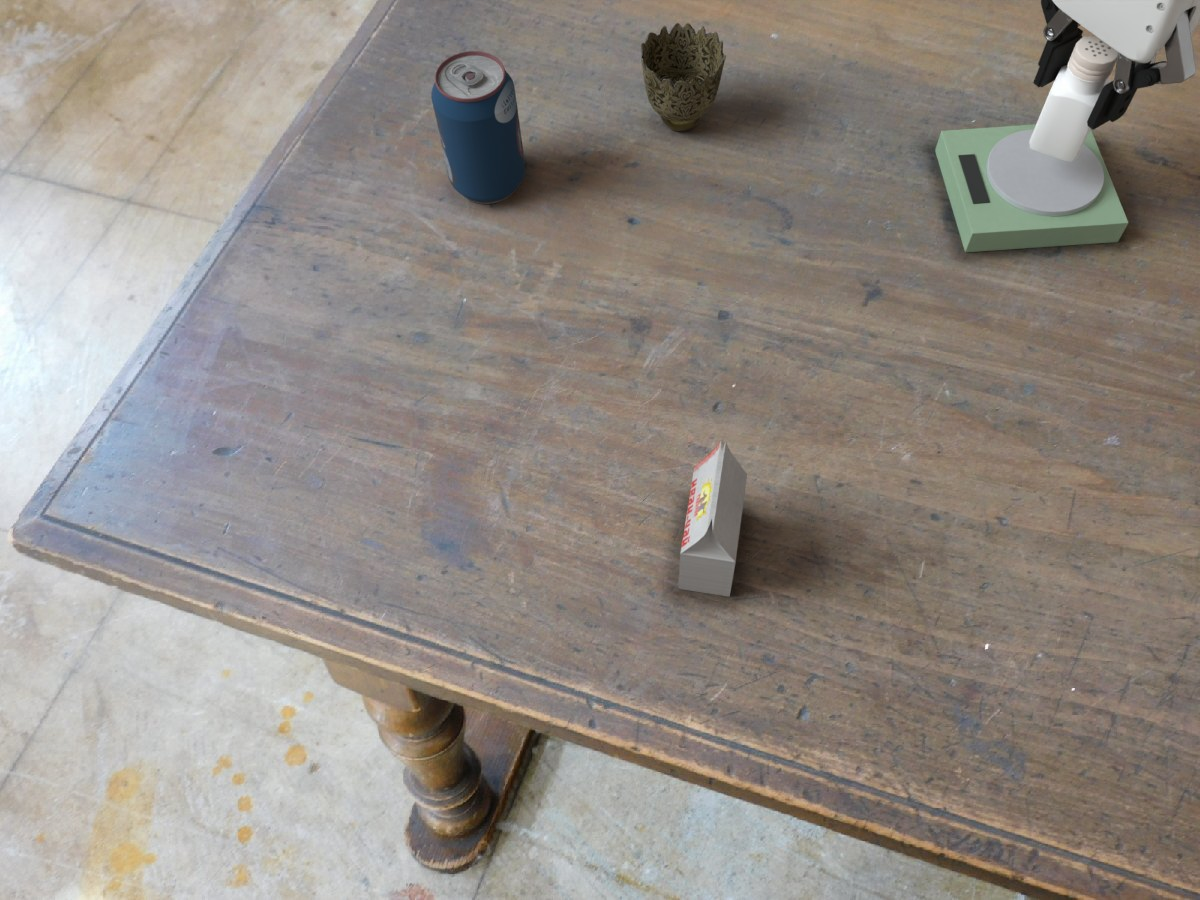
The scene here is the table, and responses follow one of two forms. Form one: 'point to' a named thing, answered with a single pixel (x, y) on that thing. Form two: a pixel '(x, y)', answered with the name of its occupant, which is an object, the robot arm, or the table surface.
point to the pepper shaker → (1073, 100)
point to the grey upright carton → (713, 524)
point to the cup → (682, 73)
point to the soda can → (479, 126)
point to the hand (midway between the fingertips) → (1076, 97)
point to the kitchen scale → (1026, 191)
